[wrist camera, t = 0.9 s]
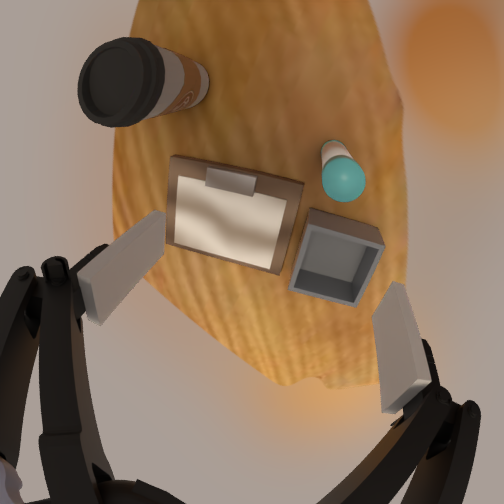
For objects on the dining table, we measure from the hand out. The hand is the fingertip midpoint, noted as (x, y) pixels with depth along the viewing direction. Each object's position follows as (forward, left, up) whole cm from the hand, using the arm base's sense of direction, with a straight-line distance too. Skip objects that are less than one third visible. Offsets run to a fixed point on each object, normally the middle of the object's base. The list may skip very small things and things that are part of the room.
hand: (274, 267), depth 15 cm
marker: (-4, +3, -20) cm, 21 cm away
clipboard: (+7, -8, -20) cm, 23 cm away
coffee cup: (-9, -16, -20) cm, 27 cm away
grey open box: (+8, +7, -20) cm, 23 cm away
